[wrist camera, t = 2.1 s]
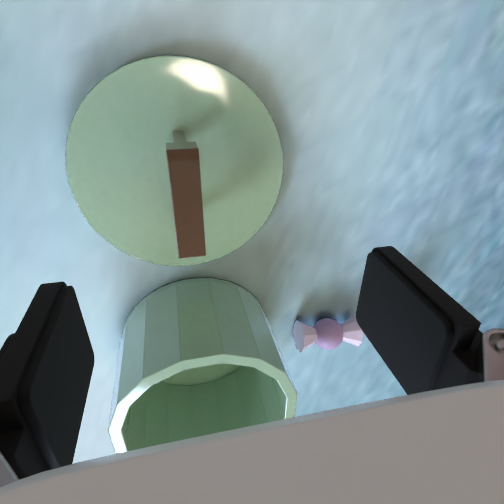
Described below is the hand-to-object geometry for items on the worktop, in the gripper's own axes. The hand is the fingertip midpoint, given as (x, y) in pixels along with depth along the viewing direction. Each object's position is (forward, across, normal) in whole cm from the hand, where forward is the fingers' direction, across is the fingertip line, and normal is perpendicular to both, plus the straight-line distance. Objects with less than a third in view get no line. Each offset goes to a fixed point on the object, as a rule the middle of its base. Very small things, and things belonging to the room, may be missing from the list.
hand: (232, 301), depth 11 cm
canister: (+15, +1, +15) cm, 21 cm away
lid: (+14, +1, 0) cm, 14 cm away
